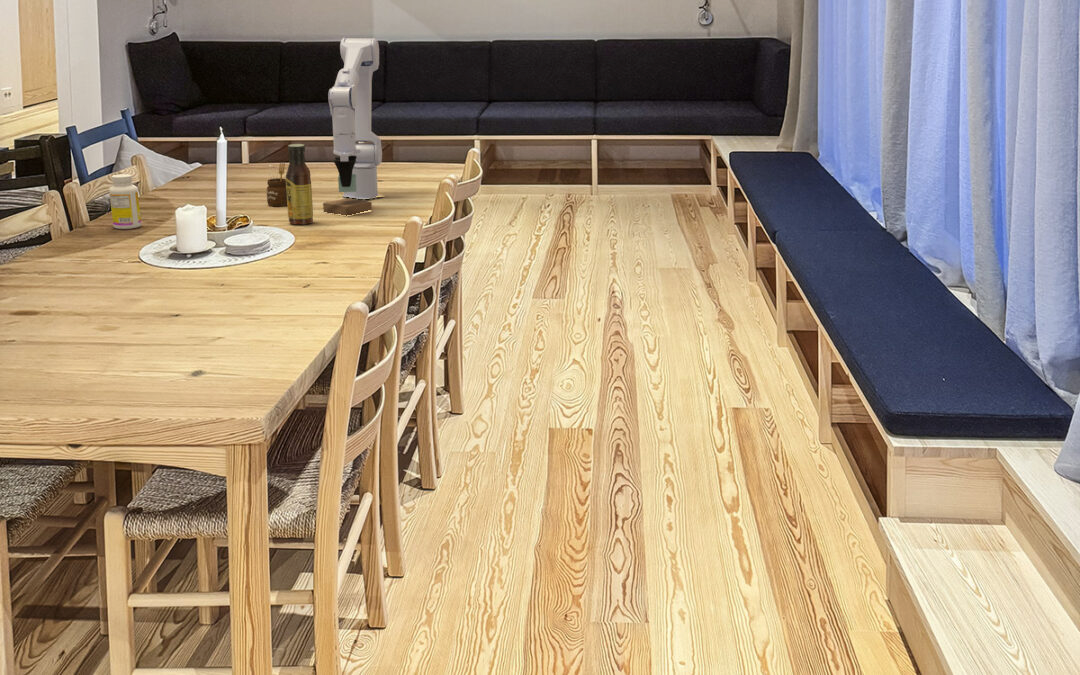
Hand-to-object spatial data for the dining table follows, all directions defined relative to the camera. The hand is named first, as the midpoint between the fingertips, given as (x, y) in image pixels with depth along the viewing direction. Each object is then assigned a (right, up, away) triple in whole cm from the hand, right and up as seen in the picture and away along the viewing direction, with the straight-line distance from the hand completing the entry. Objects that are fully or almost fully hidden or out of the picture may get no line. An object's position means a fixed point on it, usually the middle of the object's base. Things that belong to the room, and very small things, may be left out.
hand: (346, 185), depth 294 cm
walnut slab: (0, -7, +2) cm, 8 cm away
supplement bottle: (-51, -13, -18) cm, 56 cm away
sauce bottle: (-9, -12, -13) cm, 20 cm away
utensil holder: (-21, -4, +11) cm, 24 cm away
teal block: (0, -1, 0) cm, 2 cm away
